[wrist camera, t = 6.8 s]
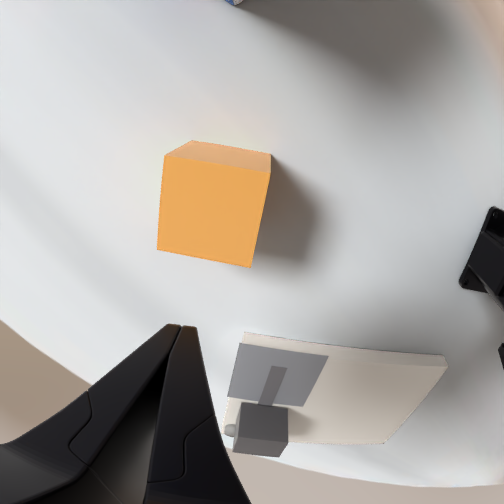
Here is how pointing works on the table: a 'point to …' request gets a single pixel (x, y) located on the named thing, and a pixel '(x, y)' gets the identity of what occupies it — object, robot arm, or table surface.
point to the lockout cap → (212, 202)
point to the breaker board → (330, 388)
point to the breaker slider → (261, 430)
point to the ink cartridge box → (234, 1)
